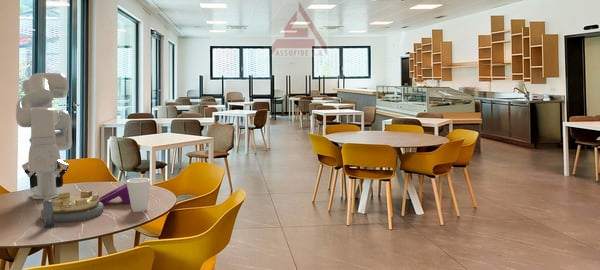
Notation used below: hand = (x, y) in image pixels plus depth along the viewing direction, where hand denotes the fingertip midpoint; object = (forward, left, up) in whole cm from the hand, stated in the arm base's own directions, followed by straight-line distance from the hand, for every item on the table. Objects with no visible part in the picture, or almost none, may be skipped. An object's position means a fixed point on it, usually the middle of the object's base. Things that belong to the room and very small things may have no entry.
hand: (46, 186), depth 166 cm
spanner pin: (0, 0, -16) cm, 16 cm away
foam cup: (+18, +30, -16) cm, 38 cm away
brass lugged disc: (-4, +16, -12) cm, 21 cm away
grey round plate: (-4, +16, -16) cm, 23 cm away
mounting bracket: (+1, +38, -16) cm, 41 cm away
